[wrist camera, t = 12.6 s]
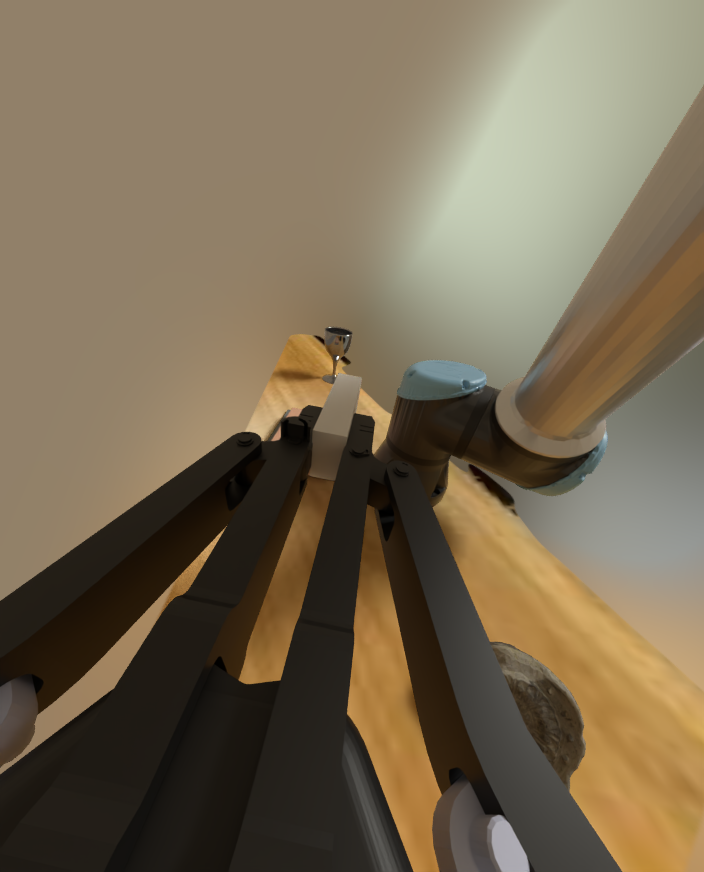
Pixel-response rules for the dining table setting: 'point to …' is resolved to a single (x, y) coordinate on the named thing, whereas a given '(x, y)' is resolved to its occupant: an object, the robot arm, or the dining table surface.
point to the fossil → (544, 709)
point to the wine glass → (336, 347)
